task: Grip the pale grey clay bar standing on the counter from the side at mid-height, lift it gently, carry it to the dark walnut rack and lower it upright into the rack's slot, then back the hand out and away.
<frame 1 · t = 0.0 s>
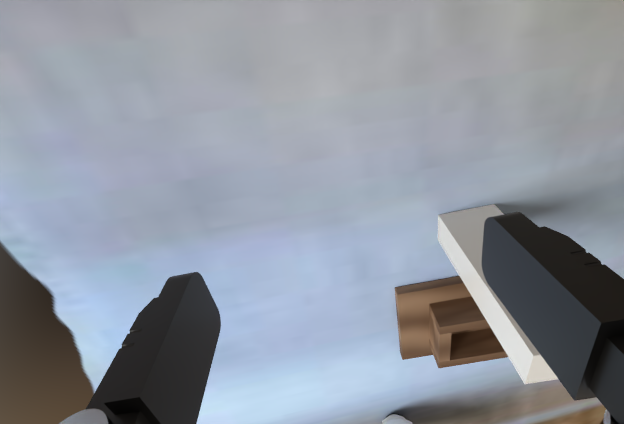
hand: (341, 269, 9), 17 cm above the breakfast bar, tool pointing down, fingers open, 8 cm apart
clay bar: (464, 222, 30), on the breakfast bar
walnut rack: (467, 310, 37), on the breakfast bar
sauce bottle: (392, 415, 51), on the breakfast bar
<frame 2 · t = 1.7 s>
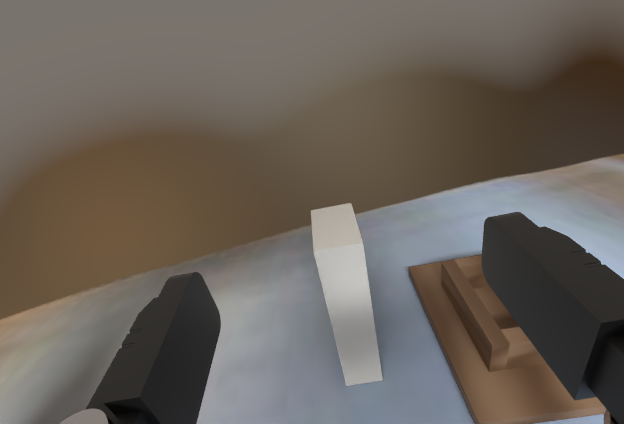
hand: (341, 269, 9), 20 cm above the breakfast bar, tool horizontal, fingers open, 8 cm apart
clay bar: (359, 356, 29), on the breakfast bar
walnut rack: (503, 322, 29), on the breakfast bar
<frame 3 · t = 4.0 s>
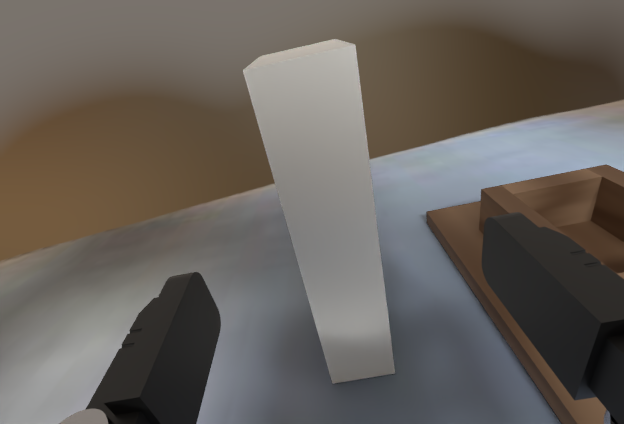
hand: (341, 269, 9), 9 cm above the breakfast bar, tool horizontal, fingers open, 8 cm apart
clay bar: (355, 335, 17), on the breakfast bar
walnut rack: (589, 278, 18), on the breakfast bar
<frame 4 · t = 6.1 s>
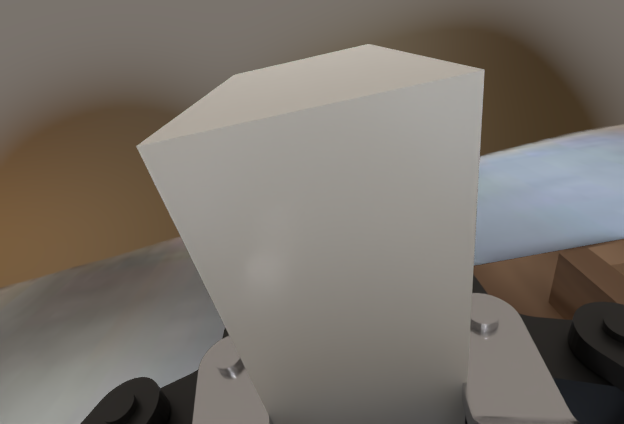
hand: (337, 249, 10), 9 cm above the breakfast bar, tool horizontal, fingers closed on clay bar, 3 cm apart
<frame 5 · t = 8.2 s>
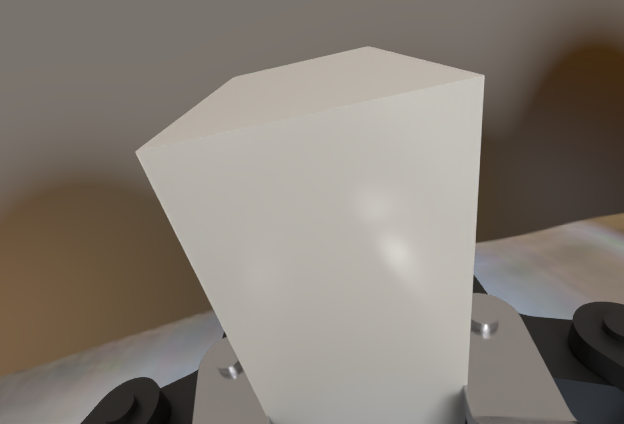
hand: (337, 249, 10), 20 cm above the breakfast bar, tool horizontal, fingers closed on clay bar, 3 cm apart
when the fingers open (11 cm above the breakfast bar, at t = 10.7 s): clay bar drops 1 cm, resting on walnut rack.
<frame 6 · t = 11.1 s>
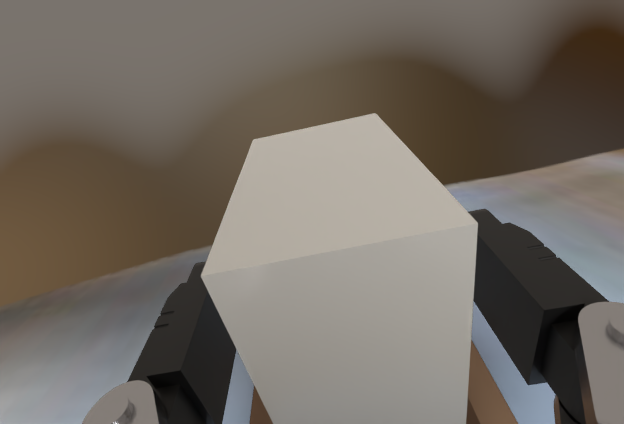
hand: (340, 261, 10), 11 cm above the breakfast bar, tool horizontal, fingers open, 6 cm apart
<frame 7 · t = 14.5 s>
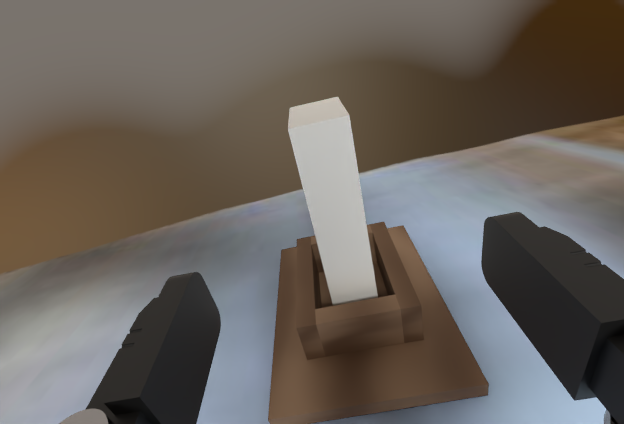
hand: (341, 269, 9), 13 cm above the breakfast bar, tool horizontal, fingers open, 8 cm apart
clay bar: (354, 296, 24), point 1 cm above the breakfast bar, touching walnut rack
walnut rack: (355, 306, 25), on the breakfast bar
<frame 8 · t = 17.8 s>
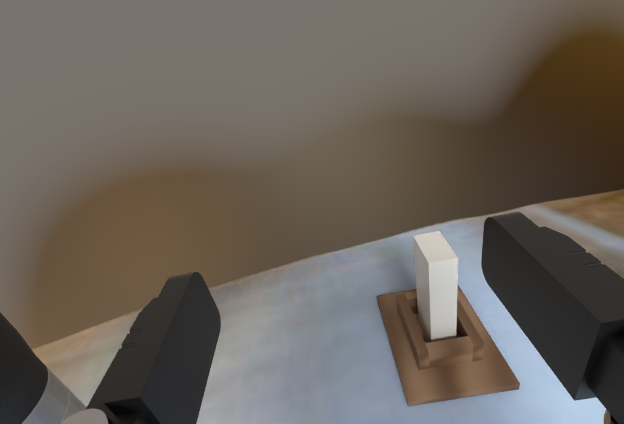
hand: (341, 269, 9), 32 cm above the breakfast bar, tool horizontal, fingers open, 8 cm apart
clay bar: (436, 332, 42), point 1 cm above the breakfast bar, touching walnut rack
walnut rack: (435, 337, 43), on the breakfast bar
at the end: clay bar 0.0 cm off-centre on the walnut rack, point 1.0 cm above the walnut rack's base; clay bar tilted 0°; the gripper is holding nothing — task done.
